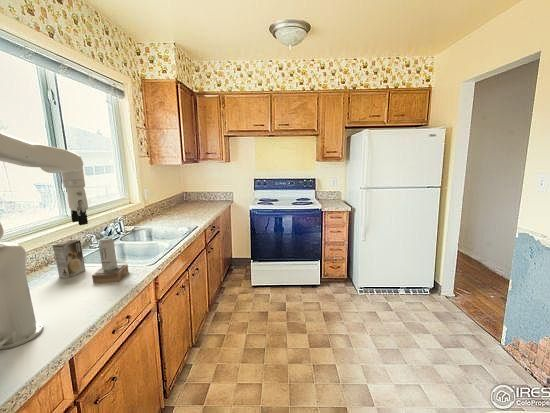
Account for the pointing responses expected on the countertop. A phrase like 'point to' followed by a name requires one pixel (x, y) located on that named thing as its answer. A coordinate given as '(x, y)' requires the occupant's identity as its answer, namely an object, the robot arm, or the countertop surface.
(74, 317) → the countertop surface
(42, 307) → the countertop surface
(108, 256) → the energy drink can
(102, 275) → the plate
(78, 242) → the coffee box
